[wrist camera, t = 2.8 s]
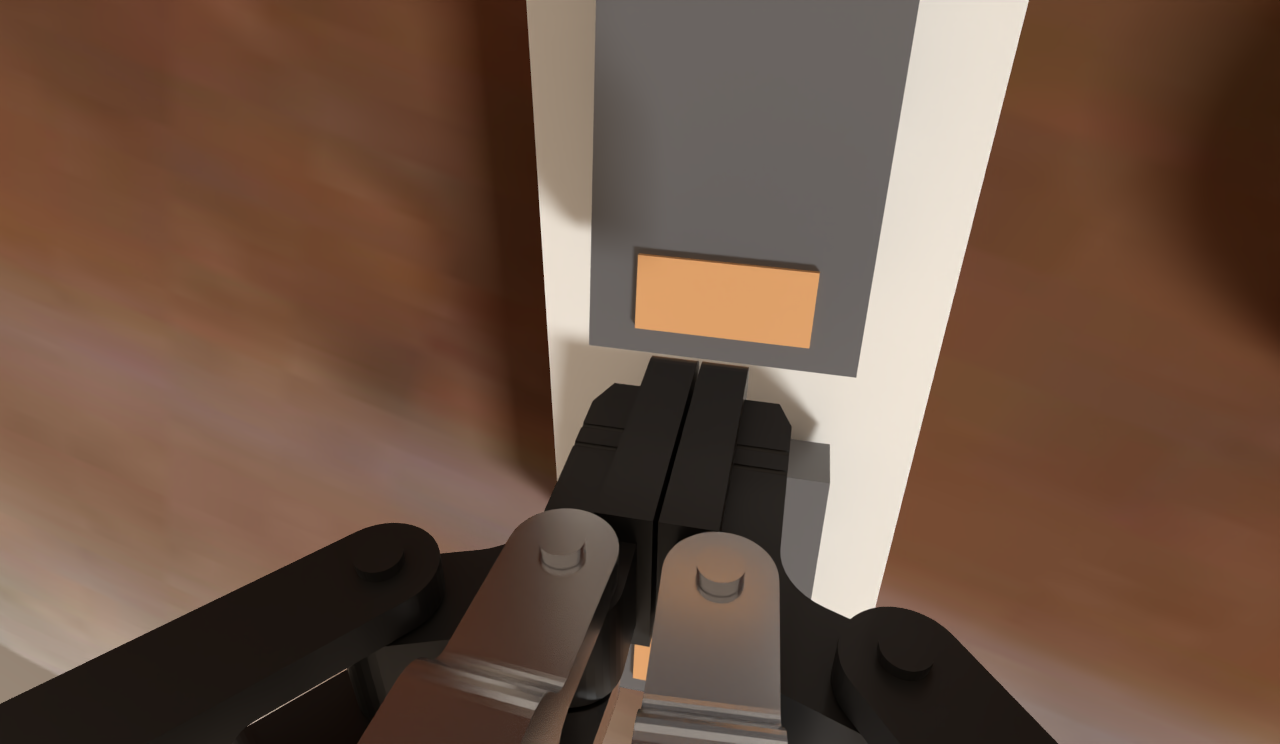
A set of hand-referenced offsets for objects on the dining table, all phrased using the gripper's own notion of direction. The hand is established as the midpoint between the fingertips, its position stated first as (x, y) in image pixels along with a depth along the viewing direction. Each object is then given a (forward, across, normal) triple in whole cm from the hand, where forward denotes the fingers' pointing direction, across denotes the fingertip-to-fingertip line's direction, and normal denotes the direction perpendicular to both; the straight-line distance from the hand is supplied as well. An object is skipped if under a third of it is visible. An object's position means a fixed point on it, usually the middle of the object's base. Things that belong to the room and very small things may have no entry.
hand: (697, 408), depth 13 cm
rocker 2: (+5, 0, -2) cm, 5 cm away
